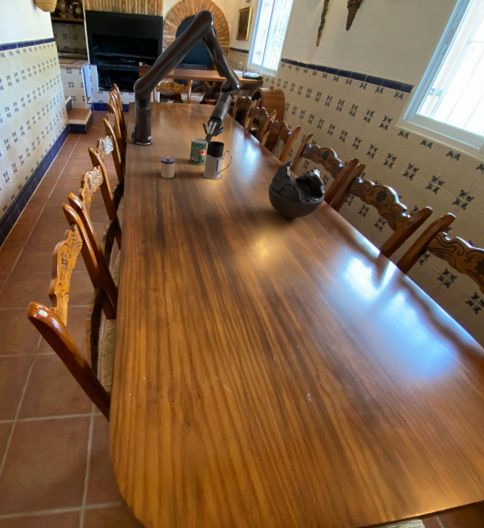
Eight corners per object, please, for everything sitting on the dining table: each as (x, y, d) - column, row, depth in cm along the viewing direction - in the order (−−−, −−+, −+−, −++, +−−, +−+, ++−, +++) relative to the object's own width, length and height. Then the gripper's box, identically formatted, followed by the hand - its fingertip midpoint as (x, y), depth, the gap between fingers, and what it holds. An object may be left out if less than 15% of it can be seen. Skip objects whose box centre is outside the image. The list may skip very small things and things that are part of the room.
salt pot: (158, 177, 139) (159, 157, 134) (162, 171, 144) (162, 152, 139) (173, 178, 138) (174, 159, 133) (175, 173, 144) (176, 154, 138)
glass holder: (210, 170, 149) (214, 139, 140) (233, 179, 141) (239, 147, 132) (199, 174, 144) (202, 142, 135) (222, 184, 136) (227, 151, 127)
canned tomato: (189, 159, 161) (191, 137, 154) (204, 160, 161) (206, 138, 154) (189, 164, 154) (191, 142, 148) (204, 165, 154) (207, 143, 148)
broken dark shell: (324, 228, 110) (345, 179, 98) (272, 227, 108) (287, 178, 97) (302, 203, 126) (318, 158, 114) (256, 202, 124) (267, 157, 112)
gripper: (206, 106, 159) (194, 135, 158) (229, 110, 154) (216, 140, 153) (209, 115, 166) (197, 143, 165) (231, 119, 161) (219, 148, 160)
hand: (207, 141), depth 159 cm, fingers closed
